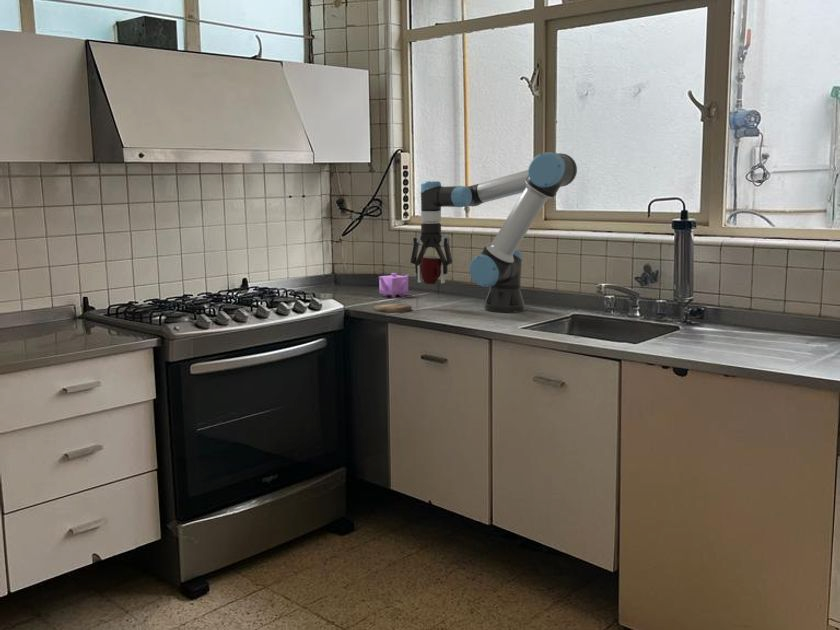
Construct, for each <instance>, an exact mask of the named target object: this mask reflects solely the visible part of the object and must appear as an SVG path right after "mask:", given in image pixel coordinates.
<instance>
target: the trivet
mask: <svg viewBox="0 0 840 630" xmlns="http://www.w3.org/2000/svg"><path fill="white" fill-rule="evenodd" d="M373 309H374V311H375V312H381V313H388V314H389V313H390V314H391V313H397V314H398V313H406V312H410V311H412V306H411V305H409V304H403V303H386V304H385V303H382V304H376V305H374V308H373Z"/></svg>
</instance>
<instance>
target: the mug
mask: <svg viewBox="0 0 840 630" xmlns="http://www.w3.org/2000/svg"><path fill="white" fill-rule="evenodd" d="M420 265H421V273H422V281H423V283H424V284H427V285H435V284H436V283H437V281H438V280H439V278H441V266H443V264H442V262H441V260H440V257H439V256H434V255H433V256H431V255H424V256H423V257H421V263H420Z"/></svg>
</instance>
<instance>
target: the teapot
mask: <svg viewBox="0 0 840 630" xmlns="http://www.w3.org/2000/svg"><path fill="white" fill-rule="evenodd" d="M409 276H410V274H405V275H401V274H400V275H398V273H397V272H392V273H390V275H382V276H381V275H379V276H378V277H377V278H378V281H379V286H378V287H379V288H378V289H379V290H378V292H379V294H381V295H383V297H389V296H390V298H393V299H394V298H396V297H397V296H398V295H399V297H402V298H403V297H405V294H408V295H409Z"/></svg>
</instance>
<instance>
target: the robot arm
mask: <svg viewBox="0 0 840 630" xmlns="http://www.w3.org/2000/svg"><path fill="white" fill-rule="evenodd" d="M577 173H578V166H577V163H576V160H574V158H573V157H571V156H570V155H569V154H566V153H557V152H553V151H547V152H543V153H539V154H537V155H536V156H534V157H533V158H532V160H531V161H530V163H529V165H528V168H527V169H526V170H522V171H519V172H516V173H512V174H508V175H505V176H502V177H498V178H494V179H490V180H487V181H483V182H479V183H475V184H473V185H469V186H468V185H467V186H466V185H465V186H463V185H457V186H456V185H455V186H452V185H451V186H443V185H442V183H441V181H439V180H438V181H437V180H433V181H430V180H429V181H422V182H421V186H420V209H421V210H420V212H421V213H420V222H421V224H420V232H421V234H420V237H417V236H416V237H413V239H412V240H413V246H412V252H411V258H410V264H413V265H414V266H415V273H416V274H417V283H419V284H421V283H422V282H423V278H422V273H421V257H423V256H425V253H426V252H427V250H428V248H432V249H433V248H434V250H435V251H436V252H437V255H438V257H440V260H441V262H442V265H441V275H440V284H444V283H446V275H448V272H449V271H448V266H449V265H452V263H453V259H452V254H451V249H450V238H449V237H443V235H442V223H440V222H442V208H443V207H444V208H445V207H447V208H463V207H478V206H480V205H482V204H484V203H489V202H492V201H495V200H500V199H503V198H507V197H511V196H514V195H519V194H520V197H519V198H518V200H517V201H516V203H515V204H514V206H513V207H512V209H511V211H510V213H509V215H508V216H507V218H506V219H505V221H504V223H503V224H502V225H501V227H500V229H499V230H498V233H497V234H496V236H495V238H494V239H493V241H492V242H490V243H489V242H488V243H486V244H485V246H484V247H483V249H482V250H481V252H480V254H477V255H476V256H474V257H473V258H472V260H471V261H470V263H469V266H468V268H469V269H468V271H469V275H470V278H471V279H472V282H474V284H476V285H478V286H479V287H485V288H486V287H487V288H489V290H488V294H487V296H486V299H485V302H484V310H485V309H486V310H485V311H488V310H489V311H488V312H493V311H497V312H496V313H515V312H514V311H521V312H523V311H522V310H524V311H525V301H524V298H523V295H522V292H521V283H522V282H521V281H522V280H521V279H522V261H523V259H522V252H521V251H520V250H517V249H518V247H519V245H520V244H521V242H522V241H523V239H524V238H525V236H526V234H527V233H528V231H529V229H530V228H531V226H532V225H533V223H534V222H535V220H536V218H537V217H538V215H539V213H540V212H541V210H542V208H543V207H544V205H545V204H546V202H547V200H549V199H554V197H555V196H556V194H557V193H558V191H559V190H560V188H562V187H566V186H569V185H570V184H571V183H572V182H573V181H574V180H575V179H576V177H577ZM441 241H442V244H443V248H444V251H443V250H442V246H441V244H440V243H441ZM421 242H422V246H421V249H420V251H419V246H420V243H421ZM418 252H419V253H418Z"/></svg>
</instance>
